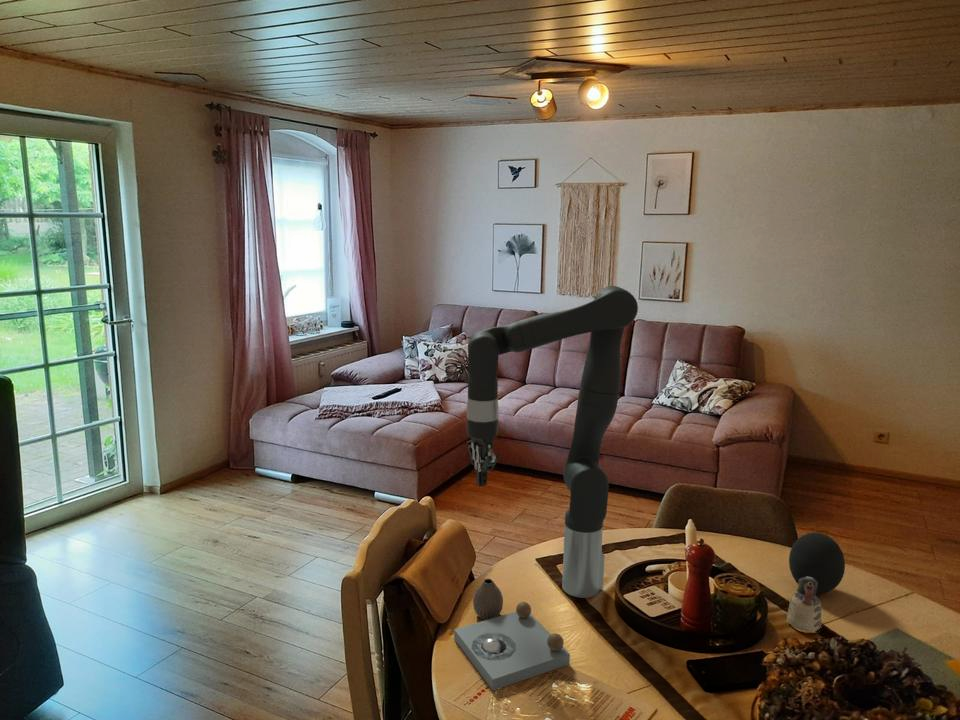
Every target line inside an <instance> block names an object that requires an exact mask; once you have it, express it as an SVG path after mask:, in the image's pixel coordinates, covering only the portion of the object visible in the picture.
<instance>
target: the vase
mask: <svg viewBox="0 0 960 720" xmlns="http://www.w3.org/2000/svg"><path fill="white" fill-rule="evenodd" d="M502 593H503V592H502V591H501V590H500V588H499V587H498V585H496V583H495V582H494V580H493V579H492V578H485V579H483V581H482V582H481V584H480V585H479V586H478V587H477V588H476V589H475V592H474V594H473V600H472V606H473V609H474V612H475V614H476V615H477V616H478V617H479V618H480V619H482V621H485V620H488V619H492V618H495V617H498V616H500V614H501V612H502V610H503V605H504V597H503V594H502Z"/></svg>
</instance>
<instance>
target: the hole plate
mask: <svg viewBox="0 0 960 720" xmlns="http://www.w3.org/2000/svg"><path fill="white" fill-rule="evenodd" d="M551 634H552V633H550V632H549V631H548V630H547V628H545V627H544V625H542V624H541V623H540V622H539V621H538V620H537V619H536V618H535V617H534V616H533V615H532V614H530V615H529V616H528V617H526V618H521V617H520V616H518V614H517V612H516V611H512V612H509V613H506V614H503V615H498V616H497V617H495V618H492V619H488V620H482V621H478V622H474V623H471V624H467V625H464V626H461V627H458V628H454V629H453V640H454V641H455V643H456V644H457V645H458V646H459V648H460V649H461V651H462V652H463V653H464V654H465V656H466V658H467V659H468V660H469V662H471V664H472V665H473V667H474V669H476V670H477V672H478V673H479V675H480V676H481V677H482V679H483V680H484V681H485V682H486V685H488V687H489V688H490V689H491V690H492V691H495V690H494V689H496V690H498V689H497V688H499V689H501V687H502V688H504V687H508V686H511V685H513V683H514V684H516V683H519V682H523V681H525V680H527V679H531V678H533V677H537V676H539V675H542V674H545V673H548V672H551V671H554V670H557V669H559V668H564V667H566V666H568V665H570V660H571V659H570V658H571V654H570V652H569V651H568V650H567V649H566V648H565V647H564V646H563V647H562V648H561V649H560V650H559V651H553V650H551V649H550V648H549V647H548V644H547V640H548V637H549V636H550V635H551ZM488 638H495V639H497V640H498V641H499V643H500V645H501V651H500V654H489V653H486V652H484V651H483V649H482V644H483V642H484V641H485V640H486V639H488Z"/></svg>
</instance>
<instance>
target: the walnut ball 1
mask: <svg viewBox="0 0 960 720" xmlns="http://www.w3.org/2000/svg"><path fill="white" fill-rule="evenodd" d="M515 610H516V611H515V612H517V614H518V616H520V617H521V618H526V617H528V616H529V615H530V614H531V613H532V607H531V605H530V604H529V603H528V602H527V601H521V602H519V603H518V604H517V605H516V607H515ZM531 615H532V614H531Z"/></svg>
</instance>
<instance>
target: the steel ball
mask: <svg viewBox="0 0 960 720" xmlns="http://www.w3.org/2000/svg"><path fill="white" fill-rule="evenodd" d="M482 649H483V651H484V652H486V653H489V654H500V653H501V652H502V651H501V645H500V643H499V641H498V640H497V639H495V638H488V639H486V640H485V641H484V642H483V644H482Z"/></svg>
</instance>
